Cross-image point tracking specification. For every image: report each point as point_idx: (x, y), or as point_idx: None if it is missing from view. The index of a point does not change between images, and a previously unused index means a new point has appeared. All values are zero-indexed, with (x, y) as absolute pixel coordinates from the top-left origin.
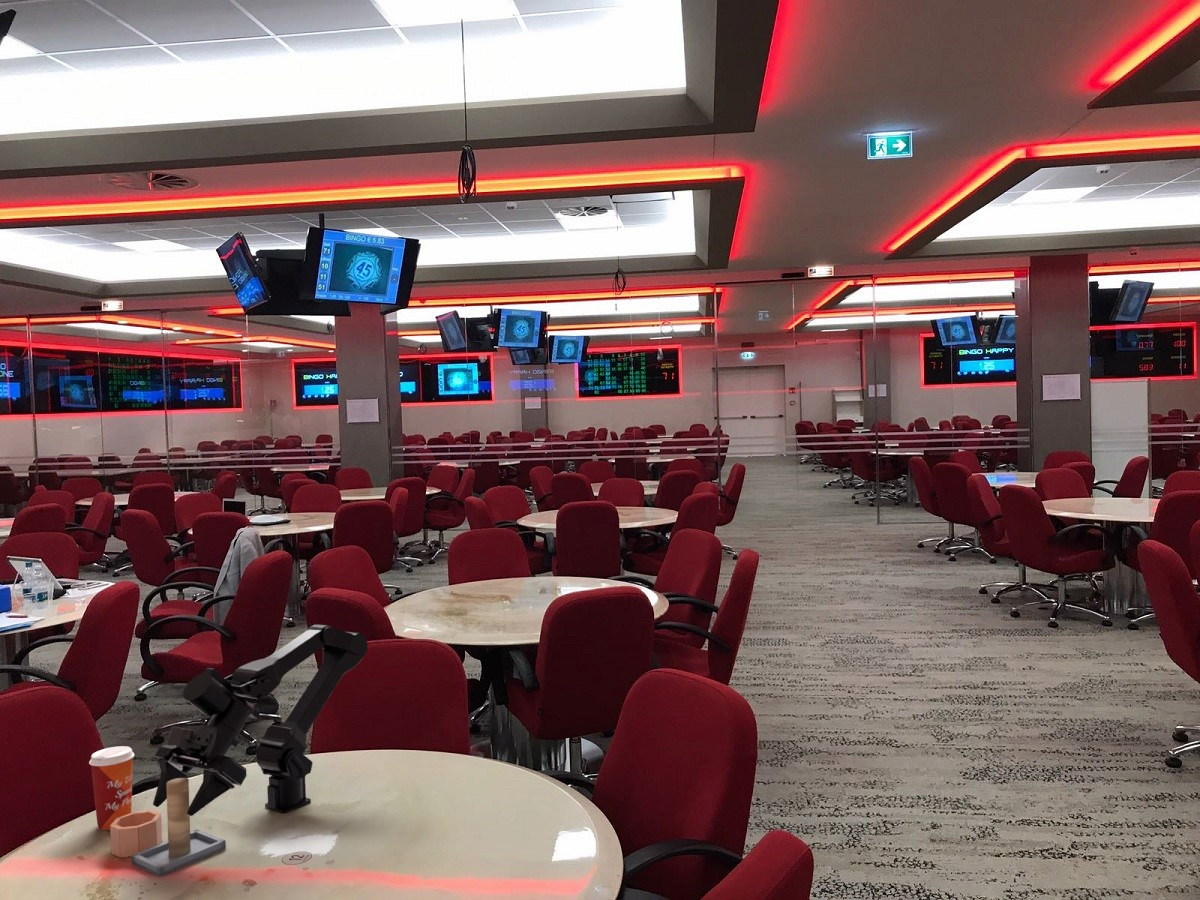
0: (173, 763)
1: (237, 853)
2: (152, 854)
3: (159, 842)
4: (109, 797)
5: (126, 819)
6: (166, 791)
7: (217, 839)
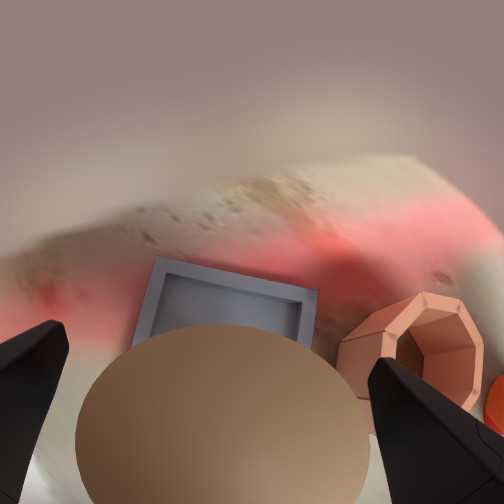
0: None
1: (66, 436)
2: None
3: None
4: None
5: (468, 366)
6: (406, 450)
7: None
